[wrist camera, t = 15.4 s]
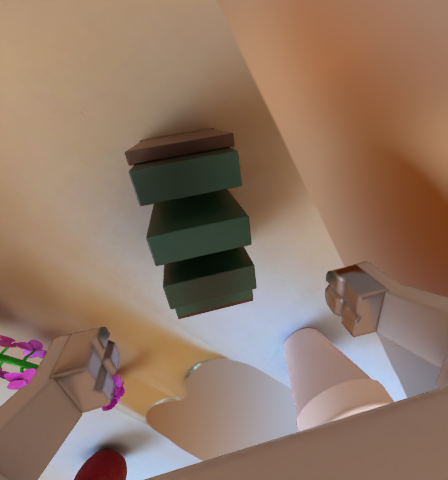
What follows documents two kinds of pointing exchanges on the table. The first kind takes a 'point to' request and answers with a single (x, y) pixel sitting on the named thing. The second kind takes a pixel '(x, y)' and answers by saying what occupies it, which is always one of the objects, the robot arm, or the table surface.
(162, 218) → the green book
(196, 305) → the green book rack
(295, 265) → the table surface
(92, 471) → the apple
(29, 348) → the potted plant
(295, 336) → the cup
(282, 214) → the table surface
